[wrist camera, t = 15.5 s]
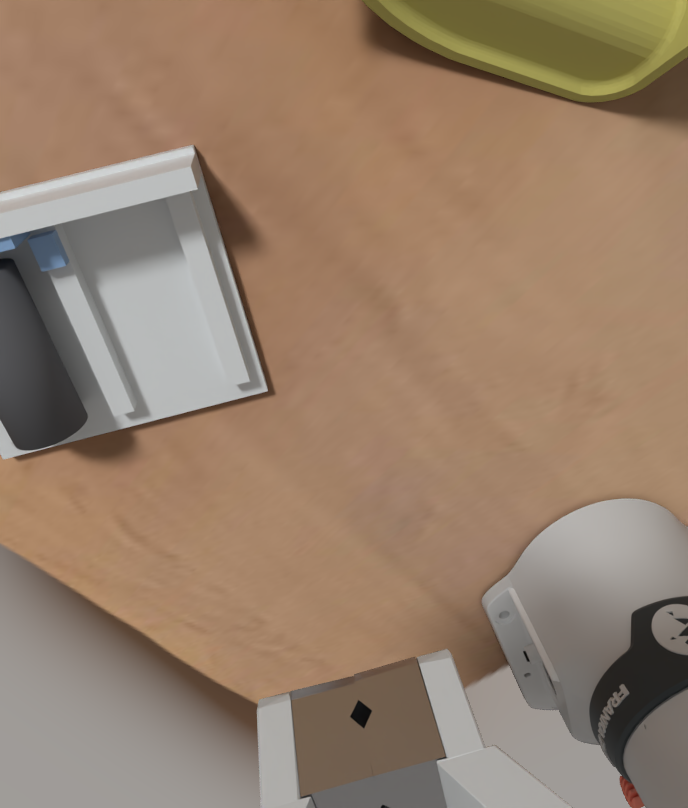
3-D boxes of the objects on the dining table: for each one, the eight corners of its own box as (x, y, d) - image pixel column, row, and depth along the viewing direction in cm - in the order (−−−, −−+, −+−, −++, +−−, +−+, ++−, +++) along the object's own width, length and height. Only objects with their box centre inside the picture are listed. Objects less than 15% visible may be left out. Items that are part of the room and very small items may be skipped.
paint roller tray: (267, 385, 40) (271, 425, 36) (7, 452, 39) (-20, 500, 35) (193, 144, 33) (188, 159, 29) (-124, 222, 32) (-176, 249, 28)
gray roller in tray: (99, 404, 37) (68, 445, 34) (36, 414, 38) (0, 454, 35) (28, 252, 33) (-15, 282, 29) (-42, 266, 34) (-92, 297, 30)
